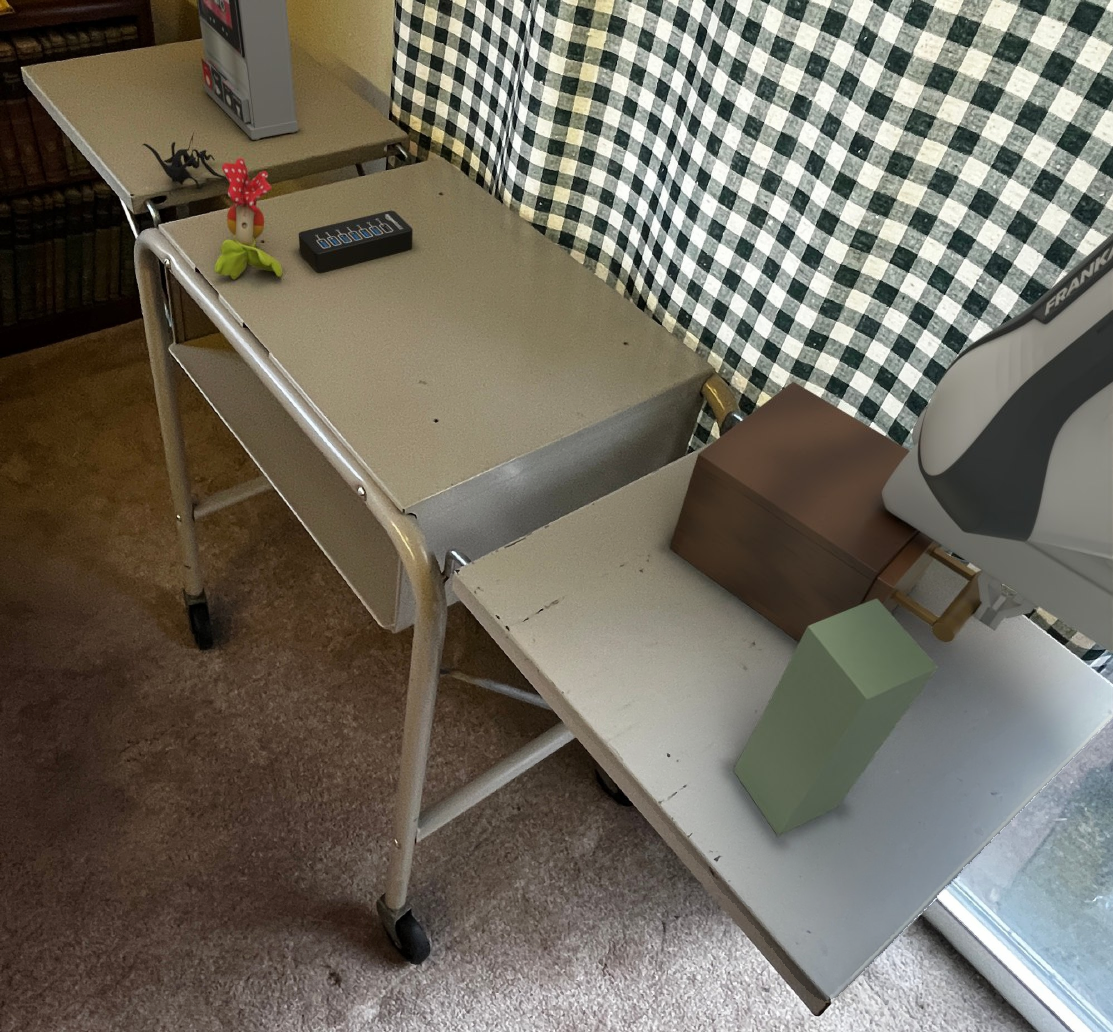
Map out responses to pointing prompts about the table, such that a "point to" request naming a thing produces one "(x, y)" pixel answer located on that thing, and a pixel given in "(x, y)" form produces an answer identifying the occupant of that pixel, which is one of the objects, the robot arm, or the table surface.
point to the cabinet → (793, 510)
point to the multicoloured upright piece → (244, 223)
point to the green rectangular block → (831, 713)
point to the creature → (178, 169)
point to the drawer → (910, 570)
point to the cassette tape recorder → (249, 63)
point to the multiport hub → (355, 241)
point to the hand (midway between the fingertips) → (986, 618)
